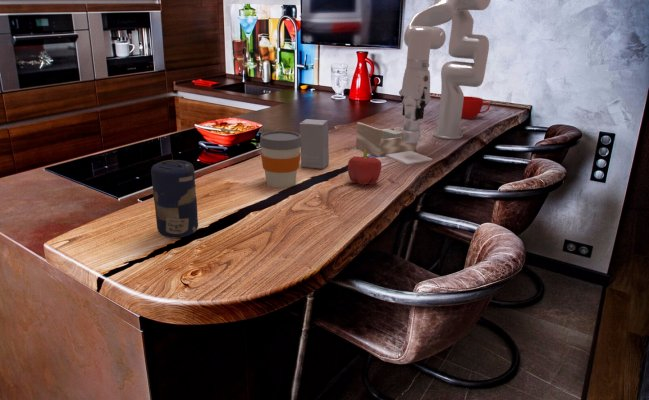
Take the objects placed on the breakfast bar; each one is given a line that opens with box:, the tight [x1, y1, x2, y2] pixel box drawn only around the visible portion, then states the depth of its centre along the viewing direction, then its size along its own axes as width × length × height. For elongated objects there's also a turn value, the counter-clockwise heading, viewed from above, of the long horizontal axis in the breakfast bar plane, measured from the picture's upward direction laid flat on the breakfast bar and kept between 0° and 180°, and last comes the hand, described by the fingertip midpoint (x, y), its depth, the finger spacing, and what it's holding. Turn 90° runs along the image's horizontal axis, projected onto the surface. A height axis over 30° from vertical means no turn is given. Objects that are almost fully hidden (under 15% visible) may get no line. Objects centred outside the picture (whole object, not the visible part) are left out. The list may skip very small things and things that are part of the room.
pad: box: [385, 151, 433, 166], centre depth 182 cm, size 12×12×1 cm
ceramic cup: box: [461, 95, 491, 120], centre depth 250 cm, size 13×17×10 cm
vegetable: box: [347, 149, 382, 185], centre depth 153 cm, size 11×10×10 cm
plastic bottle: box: [401, 96, 422, 144], centre depth 176 cm, size 6×7×20 cm
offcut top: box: [381, 128, 402, 139], centre depth 192 cm, size 4×8×2 cm, turn 37°
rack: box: [355, 121, 418, 158], centre depth 191 cm, size 19×14×10 cm
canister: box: [150, 159, 199, 239], centre depth 115 cm, size 10×10×18 cm
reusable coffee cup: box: [259, 130, 302, 189], centre depth 150 cm, size 13×13×15 cm
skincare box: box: [299, 118, 330, 170], centre depth 167 cm, size 8×7×16 cm
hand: (412, 116), depth 176 cm, fingers closed on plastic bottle, 6 cm apart
